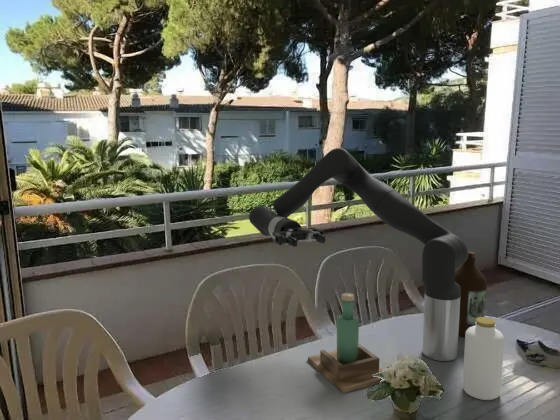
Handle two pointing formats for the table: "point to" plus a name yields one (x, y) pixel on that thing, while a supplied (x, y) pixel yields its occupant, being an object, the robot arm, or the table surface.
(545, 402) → the table surface
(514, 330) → the table surface
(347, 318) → the bottle
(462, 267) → the olive oil
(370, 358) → the bottle rest
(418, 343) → the table surface
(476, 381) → the potion bottle
